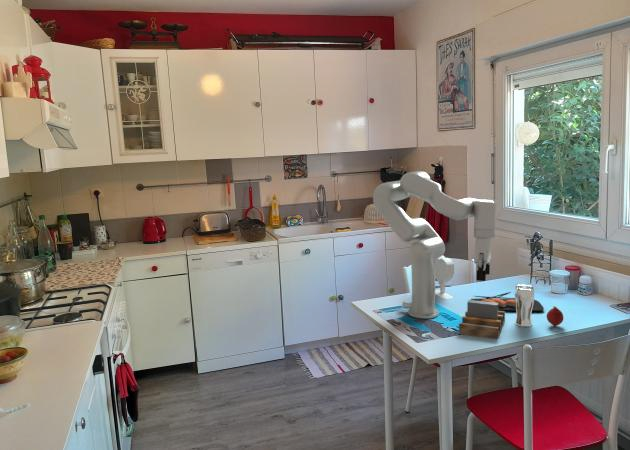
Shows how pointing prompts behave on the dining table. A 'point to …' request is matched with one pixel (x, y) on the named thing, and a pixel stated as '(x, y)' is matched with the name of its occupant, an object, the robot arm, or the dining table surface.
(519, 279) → the dining table surface
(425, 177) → the robot arm
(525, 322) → the beer glass
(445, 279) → the heart sculpture
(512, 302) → the sushi plate
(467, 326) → the rack
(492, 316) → the grey rectangular block
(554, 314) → the onion
